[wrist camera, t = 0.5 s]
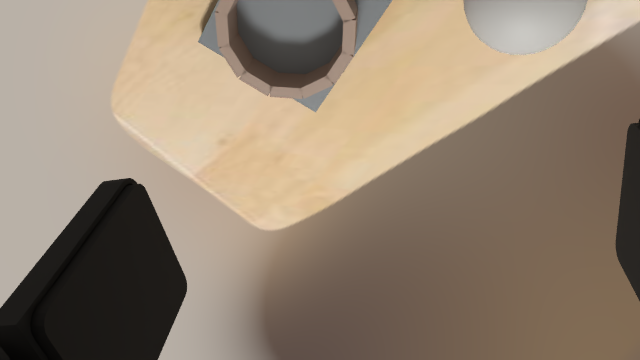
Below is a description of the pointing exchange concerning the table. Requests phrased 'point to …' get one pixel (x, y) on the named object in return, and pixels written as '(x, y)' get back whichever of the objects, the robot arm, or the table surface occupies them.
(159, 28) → the table surface
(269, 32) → the panel
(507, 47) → the lightbulb
